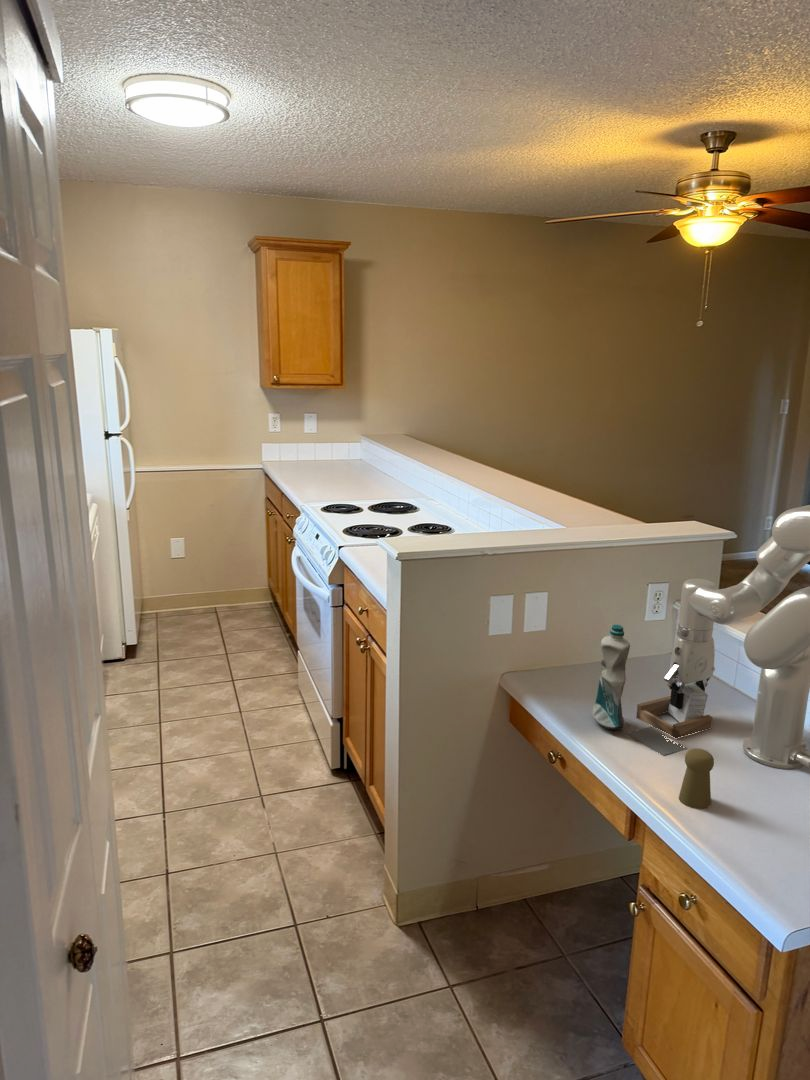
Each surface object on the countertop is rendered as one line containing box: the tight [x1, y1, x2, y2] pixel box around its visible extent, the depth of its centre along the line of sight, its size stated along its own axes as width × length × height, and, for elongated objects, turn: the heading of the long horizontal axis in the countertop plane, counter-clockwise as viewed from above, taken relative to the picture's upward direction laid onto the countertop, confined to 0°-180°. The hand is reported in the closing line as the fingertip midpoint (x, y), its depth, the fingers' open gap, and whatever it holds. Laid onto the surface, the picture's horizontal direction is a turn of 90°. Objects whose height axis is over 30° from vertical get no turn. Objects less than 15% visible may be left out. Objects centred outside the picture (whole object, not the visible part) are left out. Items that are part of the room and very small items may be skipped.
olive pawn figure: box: [678, 748, 715, 810], centre depth 144 cm, size 6×6×11 cm
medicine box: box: [667, 681, 709, 723], centre depth 177 cm, size 8×4×9 cm, turn 8°
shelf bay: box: [636, 695, 713, 738], centre depth 177 cm, size 12×11×4 cm
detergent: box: [591, 624, 631, 730], centre depth 173 cm, size 13×7×25 cm, turn 5°
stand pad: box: [627, 726, 687, 757], centre depth 168 cm, size 11×7×1 cm, turn 27°
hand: (686, 703), depth 178 cm, fingers closed on medicine box, 6 cm apart
